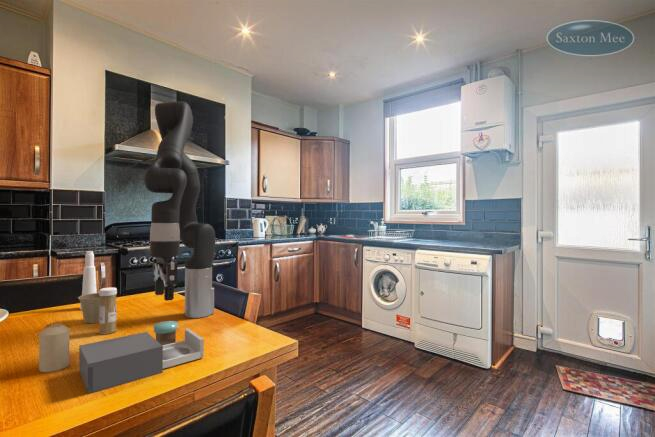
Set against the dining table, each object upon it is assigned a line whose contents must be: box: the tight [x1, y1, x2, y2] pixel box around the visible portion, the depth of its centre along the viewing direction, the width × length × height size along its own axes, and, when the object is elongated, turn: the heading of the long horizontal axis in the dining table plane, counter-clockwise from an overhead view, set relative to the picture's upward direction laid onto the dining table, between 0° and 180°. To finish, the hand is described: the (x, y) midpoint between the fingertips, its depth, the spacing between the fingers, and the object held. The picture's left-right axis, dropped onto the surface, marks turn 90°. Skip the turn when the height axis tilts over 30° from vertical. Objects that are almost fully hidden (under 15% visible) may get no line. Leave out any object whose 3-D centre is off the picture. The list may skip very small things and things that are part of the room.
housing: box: [78, 331, 164, 394], centre depth 77 cm, size 14×13×6 cm
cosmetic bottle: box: [79, 250, 98, 311], centre depth 129 cm, size 6×6×22 cm
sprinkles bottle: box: [98, 287, 118, 335], centre depth 103 cm, size 5×5×14 cm
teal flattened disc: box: [153, 320, 178, 334], centre depth 94 cm, size 6×6×2 cm
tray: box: [163, 328, 205, 370], centre depth 84 cm, size 13×11×5 cm
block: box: [155, 330, 177, 346], centre depth 94 cm, size 4×4×4 cm
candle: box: [38, 322, 70, 374], centre depth 79 cm, size 6×6×10 cm
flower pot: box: [77, 292, 100, 324], centre depth 114 cm, size 9×9×9 cm
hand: (164, 297), depth 93 cm, fingers open, 8 cm apart
